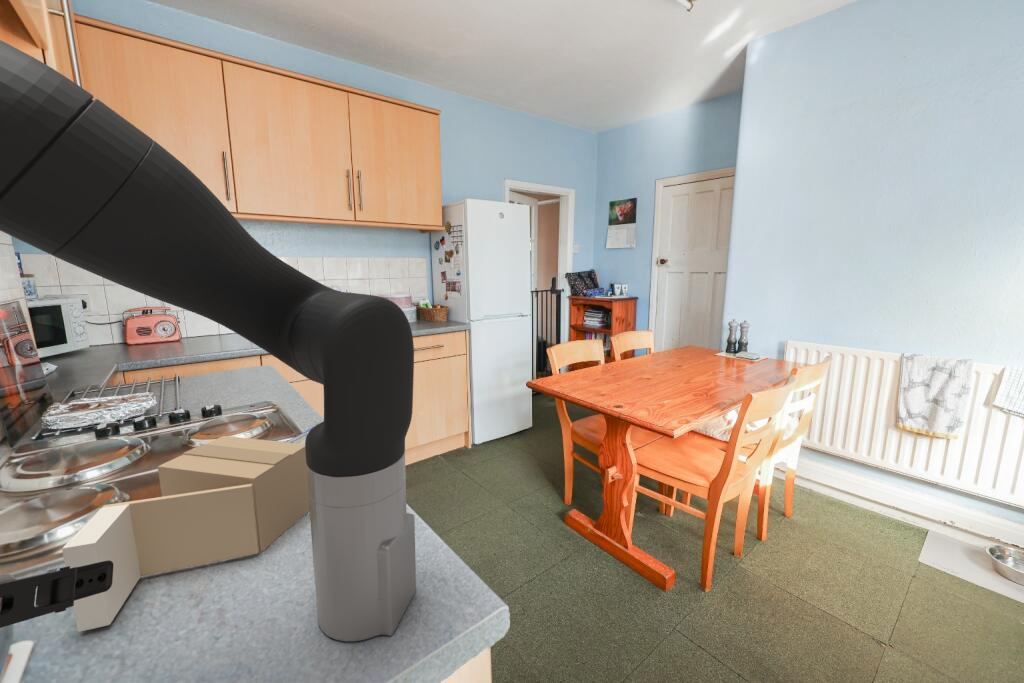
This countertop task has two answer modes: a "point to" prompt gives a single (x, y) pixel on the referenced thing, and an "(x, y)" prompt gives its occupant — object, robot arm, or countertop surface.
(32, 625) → the countertop surface
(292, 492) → the kraft carton
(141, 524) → the carton flap
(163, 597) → the countertop surface
